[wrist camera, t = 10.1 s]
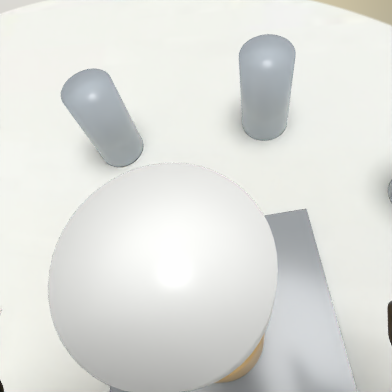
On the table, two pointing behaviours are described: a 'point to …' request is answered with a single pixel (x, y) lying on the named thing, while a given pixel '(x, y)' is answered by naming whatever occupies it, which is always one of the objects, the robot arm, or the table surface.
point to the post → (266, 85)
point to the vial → (164, 280)
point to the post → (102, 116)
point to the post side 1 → (390, 190)
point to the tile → (296, 322)
